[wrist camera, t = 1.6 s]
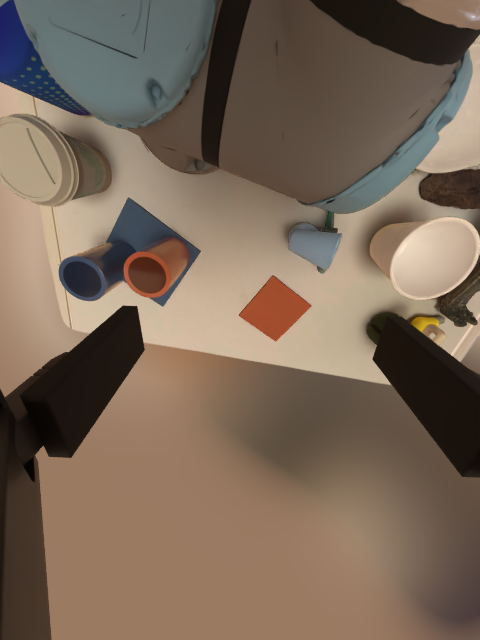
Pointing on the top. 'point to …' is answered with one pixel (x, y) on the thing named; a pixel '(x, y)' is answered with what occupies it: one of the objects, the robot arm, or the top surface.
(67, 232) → the top surface
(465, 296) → the statue
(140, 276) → the terracotta tumbler
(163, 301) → the blue mat
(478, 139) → the spoon rest
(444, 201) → the stone
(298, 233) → the spotlight
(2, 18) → the beer can
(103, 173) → the coffee cup
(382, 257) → the cup
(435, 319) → the light bulb
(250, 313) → the terracotta mat
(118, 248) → the blue tumbler
